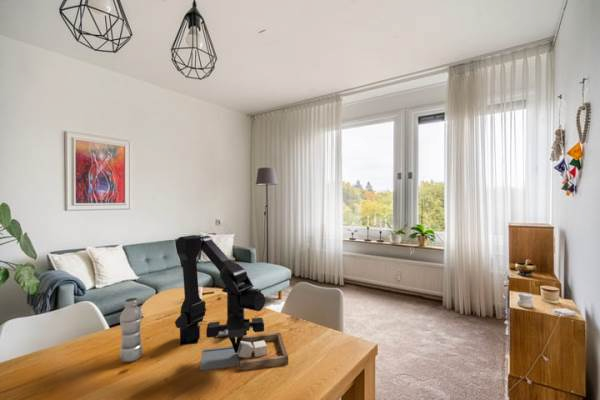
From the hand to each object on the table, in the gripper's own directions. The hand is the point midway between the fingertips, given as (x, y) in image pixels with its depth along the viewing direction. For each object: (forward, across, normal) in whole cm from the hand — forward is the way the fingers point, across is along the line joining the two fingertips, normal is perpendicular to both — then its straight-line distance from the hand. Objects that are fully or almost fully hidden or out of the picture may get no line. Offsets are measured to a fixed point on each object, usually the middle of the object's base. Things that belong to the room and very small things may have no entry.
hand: (236, 352), depth 97 cm
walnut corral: (+2, +8, +1) cm, 9 cm away
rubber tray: (+2, -5, +1) cm, 6 cm away
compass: (+2, -5, +16) cm, 17 cm away
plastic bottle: (+2, -34, +7) cm, 35 cm away
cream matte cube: (+1, +2, 0) cm, 3 cm away
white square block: (+2, +8, +1) cm, 8 cm away
